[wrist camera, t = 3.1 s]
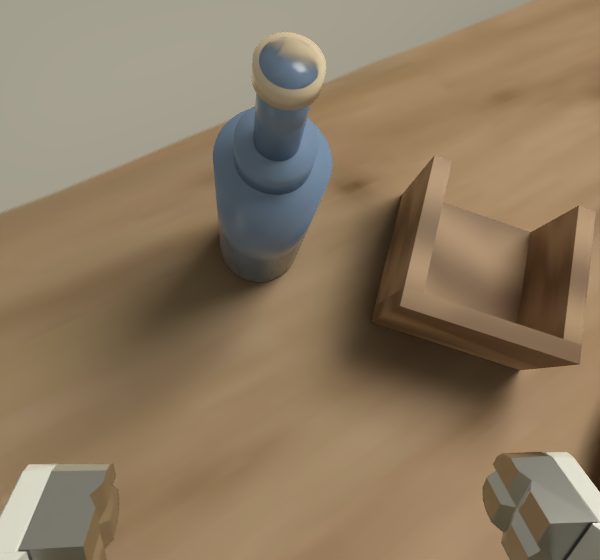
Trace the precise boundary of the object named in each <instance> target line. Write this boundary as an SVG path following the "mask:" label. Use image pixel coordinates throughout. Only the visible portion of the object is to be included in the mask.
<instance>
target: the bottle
mask: <svg viewBox="0 0 600 560" xmlns="http://www.w3.org/2000/svg"><path fill="white" fill-rule="evenodd" d="M325 73H326V62H325V58H324V56H323V53H322V52H321V50H320V49H319V47H318V46H316V44H315V43H313V42H312V41H311V40H309V39H308V38H306V37H304V36H302V35H299V34H295V33H290V32H280V33H275V34H272V35H270V36H267V37H266V38H264V39H263V40H262V41H261V42H260V43H259V44H258V45H257V47H256V48H255V51H254V54H253V63H252V84H253V87H254V89H255V91H256V105H255V107H253V108H251V109H249V110H246V111H244V112H241V113H240V114H238V115H236V116H235V117H233V118H232V119H231V120H230V121H228V122H227V123H226V124H225V126H224V127H223V128H222V130H221V131H220V133H219V134H218V137H217V139H216V142H215V145H214V151H213V164H214V175H215V187H216V199H217V211H218V223H219V235H220V247H221V253H222V256H223V259H224V261H225V263H226V264H227V266H228V267H229V268H230V270H231V271H233V272H234V273H235V274H236V275H238V276H239V277H241V278H243V279H246V280H249V281H253V282H266V281H270V280H274V279H276V278H278V277H280V276H281V275H283V274H284V273H285V272H286V271H287V270H288V269H289V268H290V266H291V265H292V263H293V261H294V259H295V257H296V255H297V252H298V250H299V248H300V246H301V243H302V241H303V239H304V237H305V234H306V232H307V230H308V228H309V225H310V223H311V221H312V218H313V216H314V214H315V212H316V209H317V207H318V205H319V203H320V200H321V198H322V196H323V193H324V191H325V189H326V187H327V184H328V182H329V179H330V176H331V171H332V155H331V151H330V147H329V145H328V142H327V140H326V139H325V137H324V135H323V134H322V132H321V131H320V130H319V129H318V127H317V126H316V125H315V124H314V123H312V122H311V120H310V119H309V118H308V114H309V110H310V106H311V104H312V103H313V102H314V101H315V100H316V99H317V97H318V96H319V94H320V91H321V88H322V84H323V80H324V77H325Z"/></svg>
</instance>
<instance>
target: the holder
mask: <svg viewBox="0 0 600 560" xmlns="http://www.w3.org/2000/svg"><path fill="white" fill-rule="evenodd" d="M451 164H452V161H449V160H447V159H444V158H441V157H438V156H434V157H433V158H432V159H431V160H430V162H429V163H428V164H427V165H426V166H425V168H424V169H423V170H422V171H421V173H420V174H419V175H418V176H417V177H416V179H415V180H414V181H413V182H412V183H411V185H410V186H409V187H408V188H407V189H406V191H405V192H404V193H403V194H402V197H401V201H400V206H399V210H398V214H397V218H396V222H395V226H394V230H393V234H392V238H391V242H390V246H389V250H388V254H387V258H386V262H385V266H384V270H383V274H382V278H381V282H380V286H379V290H378V294H377V298H376V302H375V307H374V311H373V315H372V319H371V323H374V324H377V325H381V326H384V327H387V328H390V329H393V330H396V331H399V332H402V333H406V334H409V335H412V336H415V337H418V338H421V339H424V340H427V341H430V342H434V343H437V344H440V345H443V346H446V347H449V348H452V349H455V350H459V351H462V352H465V353H468V354H471V355H474V356H477V357H480V358H484V359H487V360H490V361H493V362H496V363H499V364H502V365H505V366H508V367H512V368H515V369H518V370H526V369H537V368H547V367H557V366H567V365H577V364H580V357H581V347H582V337H583V328H584V318H585V309H586V299H587V289H588V280H589V270H590V260H591V251H592V241H593V232H594V222H595V212H596V211H593V210H590V209H588V208H585V207H582V206H577V207H575V208H574V209H572V210H570V211H568V212H567V213H565V214H563V215H561V216H559V217H558V218H556V219H554V220H552V221H550V222H549V223H547V224H545V225H543V226H541V227H540V228H538V229H536V230H534V231H532V232H528V231H525V230H522V229H519V228H516V227H513V226H510V225H507V224H504V223H501V222H499V221H496V220H493V219H490V218H487V217H484V216H481V215H478V214H475V213H472V212H469V211H466V210H463V209H460V208H458V207H455V206H452V205H449V204H446V203H443V201H444V196H445V191H446V187H447V182H448V178H449V173H450V168H451Z"/></svg>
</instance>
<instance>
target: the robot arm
mask: <svg viewBox="0 0 600 560" xmlns="http://www.w3.org/2000/svg"><path fill="white" fill-rule="evenodd" d="M493 465H494V467H495V469H496V471H495V472H494V473H492V474H491V475H489V476H488V477H487V478H486V480H485V483H484V485H483V502H484V506H485V509H486V512H487V514H488V516H489V518H490V520H491V522H492V523H493V524H494V525H495V526H496V527H498V528H499V529H500V530H501V531H502V532H503V535H502V542H501V543H502V545H503V547H504V549H505V551H506V553H507V555H508V557H509V559H510V560H600V492H599V491H598V489H597V488H596V487H595V485H594V484H593V483H592V481H591V480H590V479H589V477H588V476H587V475H586V473H585V472H584V471H583V469H582V468H581V467H580V465H579V464H578V463H577V461H576V460H575V459H574V458H573V457H572V456H571V455H570V454H568V453H567V452H546V453H542V452H527V453H503V454H501V455H499V456H497V457H496V459H495V461H494V463H493ZM115 476H116V473H115V469H114V464H29V465H28V466H27V467H26V468H25V470H24V471H23V472H22V473H21V475H20V477H19V479H18V481H17V483H16V485H15V487H14V489H13V491H12V493H11V495H10V497H9V499H8V501H7V503H6V505H5V507H4V509H3V511H2V513H1V515H0V560H107V559H106V554H105V548H106V547H107V546H108V545H109V544H110V543H111V542H112V541H113V540H114V536H115V531H116V527H117V522H118V514H119V492H118V489H117V488H116V487H115V486H113V483H114V479H115Z"/></svg>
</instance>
